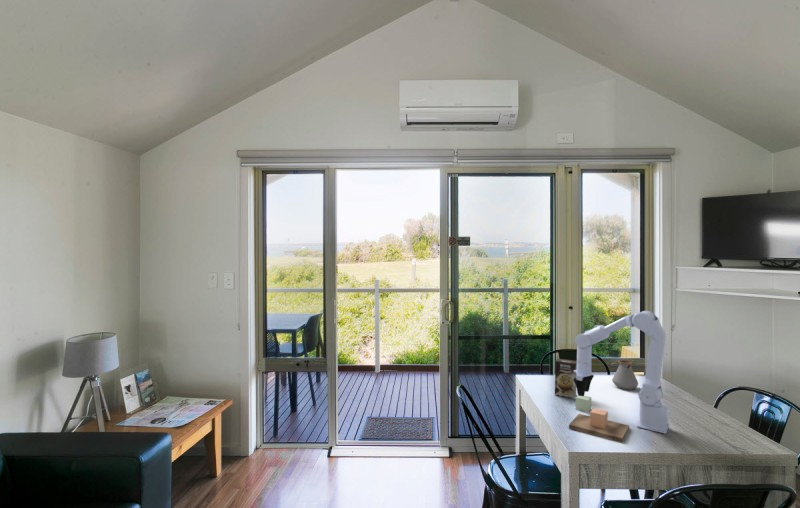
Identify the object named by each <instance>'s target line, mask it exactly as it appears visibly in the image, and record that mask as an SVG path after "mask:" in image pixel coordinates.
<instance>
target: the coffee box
mask: <svg viewBox="0 0 800 508" xmlns="http://www.w3.org/2000/svg"><path fill="white" fill-rule="evenodd" d="M554 367H555V368H554V369H555V370H554V374H555V375H554V396H557V395H559V396H558V397H562V396H565V397H564V398H568V397H571V398H570V399H574V398H575V399H576V397H577V387H576V384H575V382H574V380H573V379H574V378H577V374H576V373H575V372H574V370H577V360H571V359H564V358H558V357H557V358H556V360H555V366H554Z"/></svg>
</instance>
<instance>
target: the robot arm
mask: <svg viewBox="0 0 800 508" xmlns="http://www.w3.org/2000/svg"><path fill="white" fill-rule="evenodd" d="M659 318H660V317H658V316H657V315H656V314H655V313H653V312H652V311H649V310H642V311H640V312H636V313H632V314H630V315H625V316H623V317H621V318H620V319H616V321H613V322H611V323H610V324H608V325H602V324H599V325H598V324H596V325H594V328H593V327H592V328H591V329H589V330H585V331H584V333H579V334H578V335H577V336H575V339H574V342H575V345H576V346H577V347H576V361H577V370H574V372H575V373H576V374H577V378H574V379H573V380H574V382H575V384H576V393H577V396H585V394H586V392H587V393H588V392H589V391H590V387H591V383H592V380H594V379H593V378H594V377H595V375H594V374H593V373H592V361H593V359H592V358H593V357H592V350H593V346H594V344H597V343H599V342H602V341H604V340H606V339H609V337H610V334H611V333H613V332H615V331H619V330H621V329H623V328H625V327H630V328H634V327H635V328H637V330H640V331H642V332H644V334H645V335H646V337H648V338H649V344H648V351H647V359H646V369H645V376H644V380H643V383H642V388H641V389H640V390H639V392H638V398H639V421H638V423H637V425H636V427H637V428H641V429H644V430H648V431H649V430H650V431H653V432H656V433H660V434H661V433H662V434H667V432H668V429H669V425H670V424H669V407H668V406H664V405H663V403H662V401H661V400H662V398H663V396H664V391H663V388H662V381H661V378H662V377H661V376H662V368H663V363H664V353H665V345H666V331H665V330H664V328H663V326H662V324H661V323H660V319H659Z"/></svg>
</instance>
